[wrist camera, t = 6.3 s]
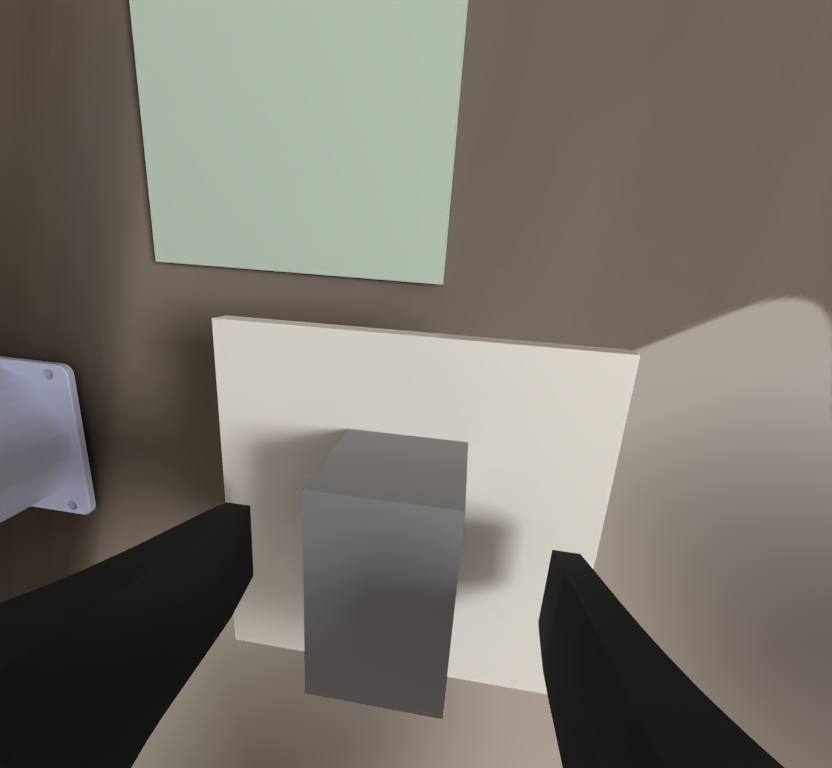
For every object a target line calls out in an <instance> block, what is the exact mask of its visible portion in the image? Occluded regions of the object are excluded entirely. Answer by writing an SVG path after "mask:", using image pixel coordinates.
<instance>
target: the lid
mask: <svg viewBox="0 0 832 768" xmlns="http://www.w3.org/2000/svg"><path fill="white" fill-rule="evenodd" d="M212 328H213V342H214V355H215V369H216V382H217V396H218V409H219V422H220V436H221V449H222V463H223V476H224V490H225V503H226V502H229V503H235V504H242V505H249V506H250V512H251V533H252V554H253V577H252V579H251V581H250V583H249V585H248V587H247V589H246V591H245V593H244V595H243V597H242V599H241V600H240V602H239V604H238V606H237V608H236V610H235V611H234V623H235V637H236V639H237V640H243V641H248V642H254V643H260V644H265V645H271V646H277V647H282V648H288V649H294V650H300V651H305V693H307V694H313V695H318V696H323V697H328V698H334V699H340V700H344V701H350V702H356V703H360V704H366V705H371V706H376V707H382V708H387V709H392V710H397V711H403V712H408V713H413V714H419V715H424V716H429V717H435V718H441V719H442V718H443V709H444V700H445V691H446V681H447V677H452V678H458V679H463V680H469V681H475V682H480V683H486V684H492V685H497V686H504V687H509V688H514V689H521V690H526V691H531V692H538V693H543V694H547V689H546V684H545V679H544V674H543V667H542V658H541V648H540V637H539V626H538V621H539V616H540V610H541V605H542V600H543V595H544V590H545V585H546V580H547V574H548V569H549V564H550V559H551V554H552V550H557V551H564V552H571V553H578V554H581V555H582V557H583V558H584V559H585V560H586V561H587V562H588V564H589V565H590V566H591V567H592V569H594V565H595V560H596V555H597V551H598V546H599V542H600V537H601V532H602V528H603V524H604V519H605V515H606V510H607V505H608V501H609V496H610V492H611V487H612V482H613V478H614V474H615V469H616V465H617V460H618V455H619V451H620V446H621V442H622V437H623V433H624V427H625V424H626V419H627V414H628V410H629V405H630V401H631V396H632V392H633V387H634V382H635V378H636V373H637V369H638V364H639V360H640V355H639V354H637V353H636V352H634V351H632V350H627V349H615V348H603V347H591V346H580V345H568V344H556V343H544V342H533V341H521V340H509V339H497V338H486V337H474V336H462V335H450V334H439V333H427V332H415V331H403V330H392V329H380V328H368V327H356V326H345V325H333V324H321V323H309V322H298V321H286V320H274V319H262V318H251V317H239V316H227V315H225V316H220V317H215V318H212Z"/></svg>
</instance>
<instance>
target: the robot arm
mask: <svg viewBox="0 0 832 768" xmlns="http://www.w3.org/2000/svg"><path fill="white" fill-rule="evenodd" d="M51 371H52V372H51ZM52 373H53V374H52ZM30 506H33V507H39V508H45V509H52V510H58V511H65V512H71V513H78V514H88V513H90V512H91V511H93V510H94V509H95V508H96V502H95V496H94V490H93V484H92V478H91V472H90V466H89V460H88V454H87V448H86V442H85V436H84V430H83V424H82V418H81V412H80V406H79V400H78V394H77V388H76V382H75V376H74V372H73V370H72V369H71V367H70V366H68V365H67V364H64V363H57V362H48V361H39V360H30V359H21V358H12V357H3V356H0V523H1V522H3V521H5V520H6V519H8V518H10V517H12V516H14V515H16V514H17V513H19V512H21V511H23V510H25V509H26V508H28V507H30ZM252 577H253V554H252V533H251V512H250V506H249V505H242V504H235V503H229V502H226V503H224V504H221V505H219V506H217V507H214V508H212V509H210V510H208V511H206V512H204V513H202V514H200V515H198V516H196V517H194V518H192V519H190V520H188V521H186V522H184V523H181V524H179V525H177V526H175V527H173V528H171V529H169V530H167V531H165V532H163V533H161V534H159V535H157V536H155V537H153V538H151V539H149V540H147V541H145V542H143V543H141V544H139V545H137V546H135V547H133V548H130V549H128V550H126V551H124V552H122V553H120V554H117V555H115V556H113V557H111V558H109V559H106V560H104V561H102V562H100V563H98V564H95V565H93V566H91V567H89V568H87V569H84V570H82V571H80V572H78V573H75V574H73V575H71V576H68V577H66V578H63V579H61V580H59V581H56V582H54V583H51V584H49V585H46V586H44V587H41V588H38V589H36V590H33V591H31V592H28V593H25V594H23V595H20V596H18V597H15V598H12V599H10V600H7V601H4V602H1V603H0V768H131V767H132V765H133V763H134V762H135V760H136V758H137V757H138V755H139V753H140V752H141V750H142V748H143V746H144V745H145V743H146V741H147V739H148V738H149V736H150V735H151V733H152V732H153V730H154V729H155V727H156V726H157V724H158V723H159V721H160V720H161V718H162V717H163V715H164V714H165V712H166V711H167V709H168V708H169V706H170V705H171V703H172V702H173V701H174V699H175V698H176V696H177V695H178V693H179V692H180V691H181V689H182V688H183V686H184V685H185V683H186V682H187V681H188V679H189V677H190V676H191V675H192V673H193V672H194V670H195V669H196V668H197V666H198V665H199V663H200V662H201V660H202V659H203V658H204V656H205V655H206V653H207V652H208V650H209V649H210V648H211V646H212V645H213V643H214V642H215V640H216V639H217V637H218V636H219V634H220V633H221V631H222V630H223V629H224V627H225V626H226V624H227V623H228V621H229V620H230V618H231V617H232V615H233V613H234V611H235V610H236V608H237V606H238V604H239V602H240V600H241V599H242V597H243V595H244V593H245V591H246V589H247V587H248V585H249V583H250V581H251V579H252ZM538 626H539V637H540V648H541V658H542V667H543V674H544V679H545V684H546V689H547V694H548V699H549V704H550V708H551V713H552V718H553V723H554V728H555V732H556V737H557V741H558V747H559V751H560V756H561V761H562V765H563V768H784V767H783V766H782V765H781V764H779V763H778V762H777V761H776V760H775V759H774V758H773V757H771V756H770V755H769V754H768V753H767V752H766V751H765V750H764V749H763V748H761V747H760V746H759V745H758V744H757V743H756V742H755V741H754V740H753V739H751V738H750V737H749V736H748V735H747V734H746V733H745V732H744V731H743V730H742V729H741V728H740V727H739V726H738V725H737V724H735V723H734V722H733V721H732V720H731V719H730V718H729V717H728V716H727V715H726V714H725V713H724V712H723V711H722V710H721V709H720V708H718V707H717V706H716V705H715V704H714V703H713V702H712V701H711V700H710V699H709V698H708V697H707V696H706V695H705V694H704V693H703V692H702V691H701V690H700V689H699V688H698V687H697V686H696V685H695V684H694V683H693V682H692V681H691V680H690V679H689V678H688V677H687V676H686V675H685V674H684V673H683V672H682V670H680V668H679V667H678V666H677V665H676V664H675V663H674V662H673V661H672V660H671V659H670V658H669V657H668V656H667V655H666V654H665V653H664V652H663V650H662V649H661V648H660V647H659V646H658V645H657V644H656V643H655V642H654V641H653V640H652V638H651V637H650V636H649V635H648V634H647V633H646V632H645V631H644V629H642V627H641V626H640V625H639V624H638V623H637V622H636V620H635V619H634V618H633V617H632V616H631V615H630V613H629V612H628V611H627V610H626V609H625V607H624V606H623V605H622V604H621V603H620V602H619V601H618V599H617V598H616V597H615V595H614V594H613V593H612V592H611V591H610V590H609V588H608V587H607V586H606V585H605V584H604V582H603V581H602V580H601V578H600V577H599V576H598V575H597V574H596V572H595V571H594V570H593V569H592V567H591V566H590V565H589V564H588V562H587V561H586V560H585V559H584V558H583V557H582V555H581V554H578V553H571V552H564V551H557V550H552V554H551V559H550V564H549V569H548V574H547V580H546V585H545V590H544V595H543V600H542V605H541V610H540V616H539V621H538Z"/></svg>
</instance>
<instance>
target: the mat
mask: <svg viewBox="0 0 832 768" xmlns="http://www.w3.org/2000/svg"><path fill="white" fill-rule="evenodd" d="M129 4H130V14H131V24H132V34H133V43H134V53H135V63H136V73H137V83H138V93H139V103H140V113H141V122H142V132H143V142H144V152H145V162H146V172H147V182H148V191H149V201H150V211H151V221H152V231H153V241H154V251H155V261H156V262H169V263H181V264H194V265H206V266H218V267H231V268H243V269H255V270H268V271H280V272H292V273H305V274H317V275H329V276H342V277H354V278H367V279H379V280H391V281H404V282H416V283H428V284H441V285H443V283H444V271H445V260H446V249H447V237H448V226H449V214H450V203H451V192H452V180H453V169H454V157H455V146H456V135H457V123H458V112H459V101H460V89H461V78H462V66H463V55H464V44H465V32H466V21H467V9H468V0H129Z"/></svg>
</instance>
